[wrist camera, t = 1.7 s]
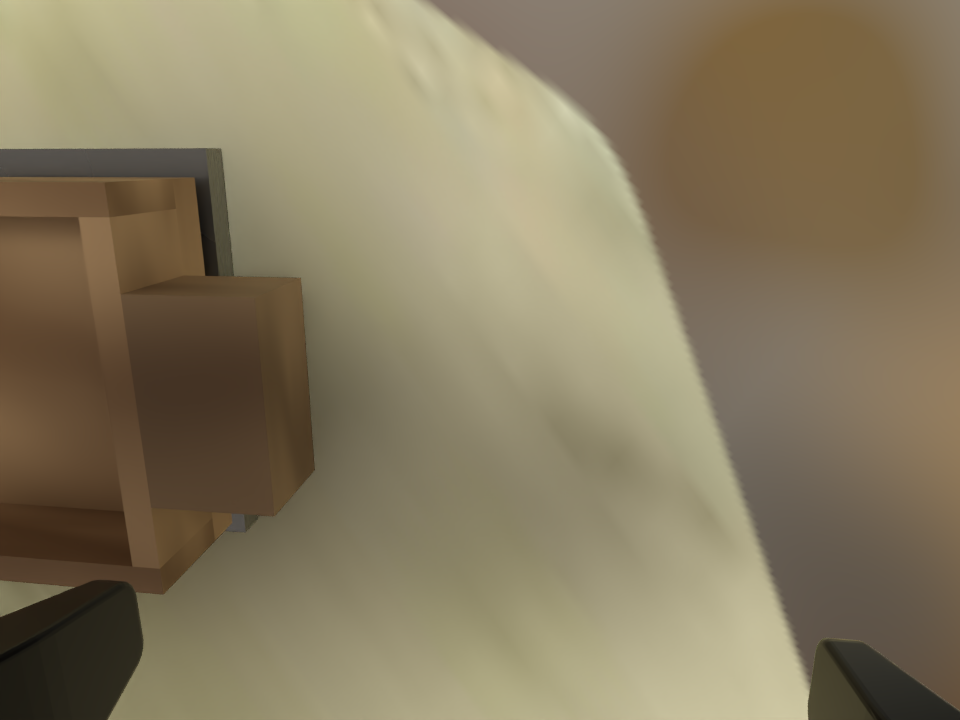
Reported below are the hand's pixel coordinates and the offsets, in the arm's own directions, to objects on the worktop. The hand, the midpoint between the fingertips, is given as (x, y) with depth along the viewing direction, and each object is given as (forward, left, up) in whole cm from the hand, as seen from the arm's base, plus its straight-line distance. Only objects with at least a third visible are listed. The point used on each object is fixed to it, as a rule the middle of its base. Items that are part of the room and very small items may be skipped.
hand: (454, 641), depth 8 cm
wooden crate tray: (0, +11, -11) cm, 16 cm away
